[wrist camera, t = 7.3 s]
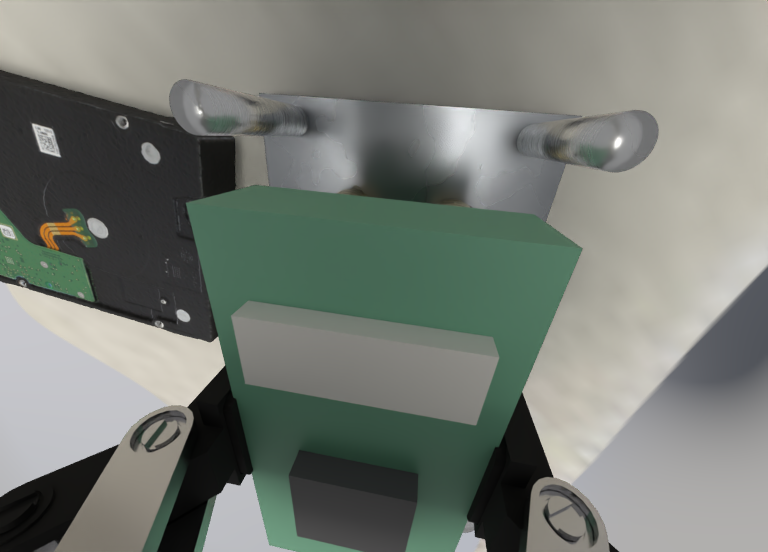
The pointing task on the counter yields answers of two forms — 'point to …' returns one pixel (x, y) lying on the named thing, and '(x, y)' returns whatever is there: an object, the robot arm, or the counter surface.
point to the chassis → (417, 147)
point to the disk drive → (106, 204)
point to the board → (374, 354)
